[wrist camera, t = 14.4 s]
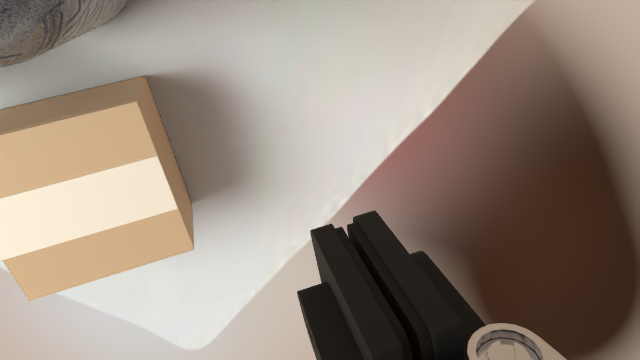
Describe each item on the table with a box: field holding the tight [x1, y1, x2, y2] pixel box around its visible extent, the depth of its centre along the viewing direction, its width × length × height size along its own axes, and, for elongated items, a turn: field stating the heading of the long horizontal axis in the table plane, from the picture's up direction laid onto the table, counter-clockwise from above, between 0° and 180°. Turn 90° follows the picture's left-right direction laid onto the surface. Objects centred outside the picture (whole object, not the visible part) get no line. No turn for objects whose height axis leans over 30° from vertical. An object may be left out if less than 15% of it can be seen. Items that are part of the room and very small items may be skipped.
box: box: [0, 76, 194, 244], centre depth 39 cm, size 14×14×8 cm
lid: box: [0, 99, 194, 301], centre depth 35 cm, size 14×14×1 cm
